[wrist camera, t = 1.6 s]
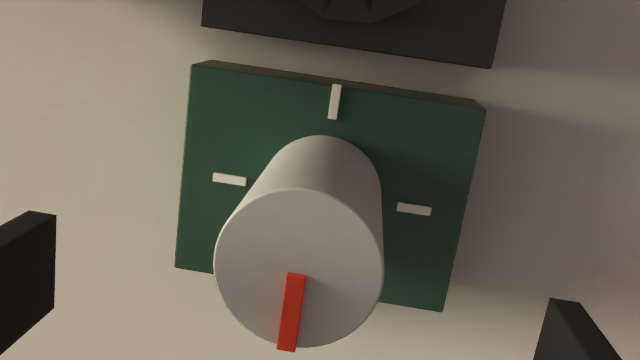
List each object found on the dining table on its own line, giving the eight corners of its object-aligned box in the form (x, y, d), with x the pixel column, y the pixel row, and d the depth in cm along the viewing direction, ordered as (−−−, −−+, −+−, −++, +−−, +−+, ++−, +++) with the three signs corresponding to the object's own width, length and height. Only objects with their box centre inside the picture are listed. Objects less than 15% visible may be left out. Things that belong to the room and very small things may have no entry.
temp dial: (269, 125, 24) (218, 177, 16) (390, 144, 24) (398, 206, 16) (255, 239, 26) (202, 338, 18) (370, 258, 25) (369, 367, 17)
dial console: (210, 57, 27) (189, 62, 24) (475, 97, 26) (488, 107, 23) (193, 245, 29) (172, 271, 26) (435, 285, 29) (442, 317, 26)
